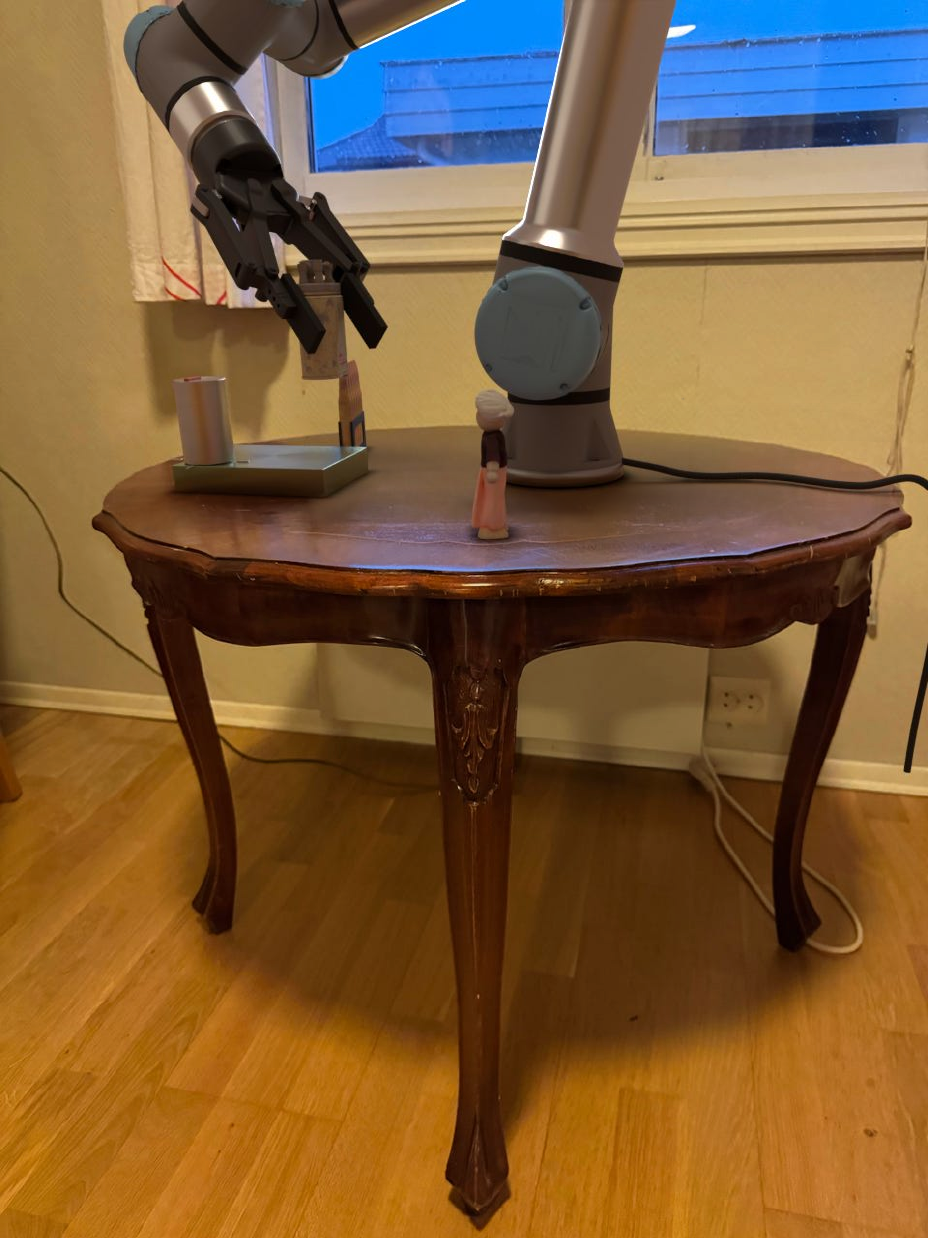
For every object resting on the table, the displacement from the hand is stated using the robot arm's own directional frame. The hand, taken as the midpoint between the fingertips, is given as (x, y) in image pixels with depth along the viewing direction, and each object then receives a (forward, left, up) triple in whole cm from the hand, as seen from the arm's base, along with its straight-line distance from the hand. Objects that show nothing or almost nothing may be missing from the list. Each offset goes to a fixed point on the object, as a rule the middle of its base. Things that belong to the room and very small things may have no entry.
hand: (348, 339), depth 76 cm
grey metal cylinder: (+23, -14, -14) cm, 31 cm away
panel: (+18, -17, -17) cm, 30 cm away
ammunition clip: (+14, -36, -17) cm, 42 cm away
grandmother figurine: (-13, +1, -17) cm, 21 cm away
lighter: (+3, -2, -4) cm, 5 cm away
